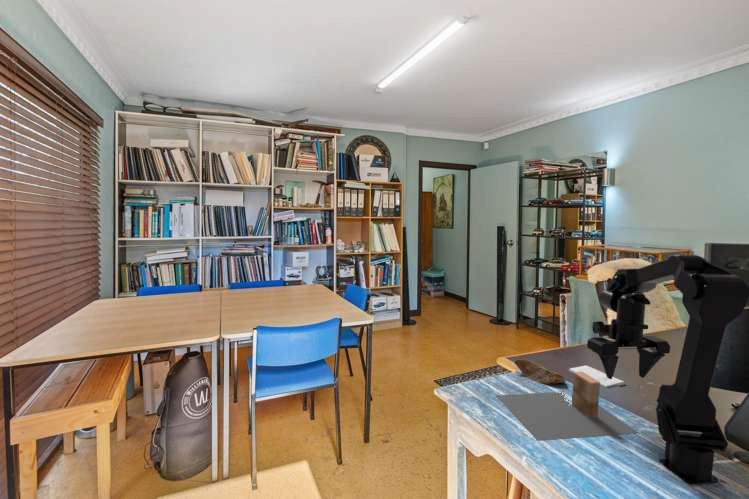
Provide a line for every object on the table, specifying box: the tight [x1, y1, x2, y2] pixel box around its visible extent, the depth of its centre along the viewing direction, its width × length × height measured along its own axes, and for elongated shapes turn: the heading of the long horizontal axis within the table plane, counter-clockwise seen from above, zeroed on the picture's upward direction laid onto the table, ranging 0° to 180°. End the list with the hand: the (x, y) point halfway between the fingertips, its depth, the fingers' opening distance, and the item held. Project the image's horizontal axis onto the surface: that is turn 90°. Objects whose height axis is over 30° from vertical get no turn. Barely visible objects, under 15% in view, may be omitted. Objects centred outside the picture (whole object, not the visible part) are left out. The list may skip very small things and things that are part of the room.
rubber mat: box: [494, 391, 639, 442], centre depth 90 cm, size 20×25×1 cm
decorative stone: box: [514, 358, 566, 385], centre depth 110 cm, size 10×4×15 cm
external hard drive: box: [568, 365, 626, 388], centre depth 111 cm, size 2×8×12 cm
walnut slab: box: [572, 372, 601, 418], centre depth 90 cm, size 6×2×9 cm, turn 7°
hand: (625, 377), depth 91 cm, fingers open, 9 cm apart
